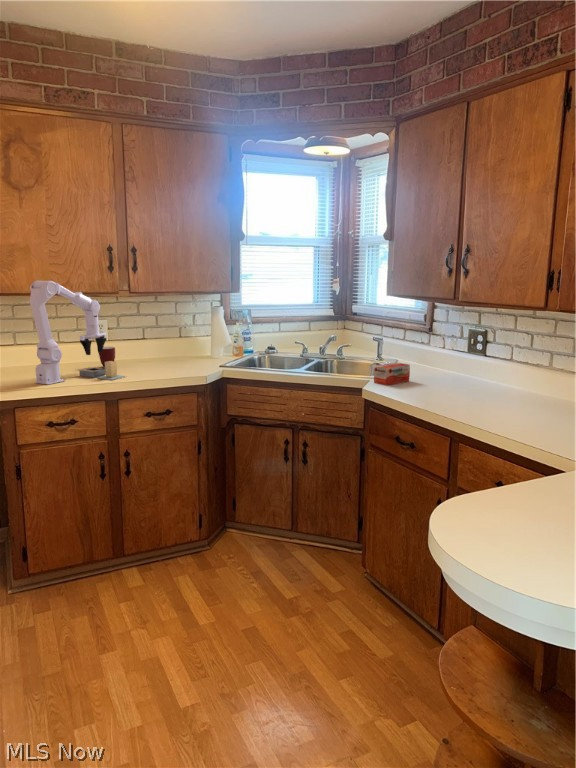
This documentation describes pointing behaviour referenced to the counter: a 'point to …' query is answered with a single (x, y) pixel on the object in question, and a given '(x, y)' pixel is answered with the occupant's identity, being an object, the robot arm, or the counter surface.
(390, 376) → the medicine box
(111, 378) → the slate mat
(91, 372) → the block
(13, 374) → the counter surface
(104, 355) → the mug
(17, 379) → the counter surface
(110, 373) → the beige block
